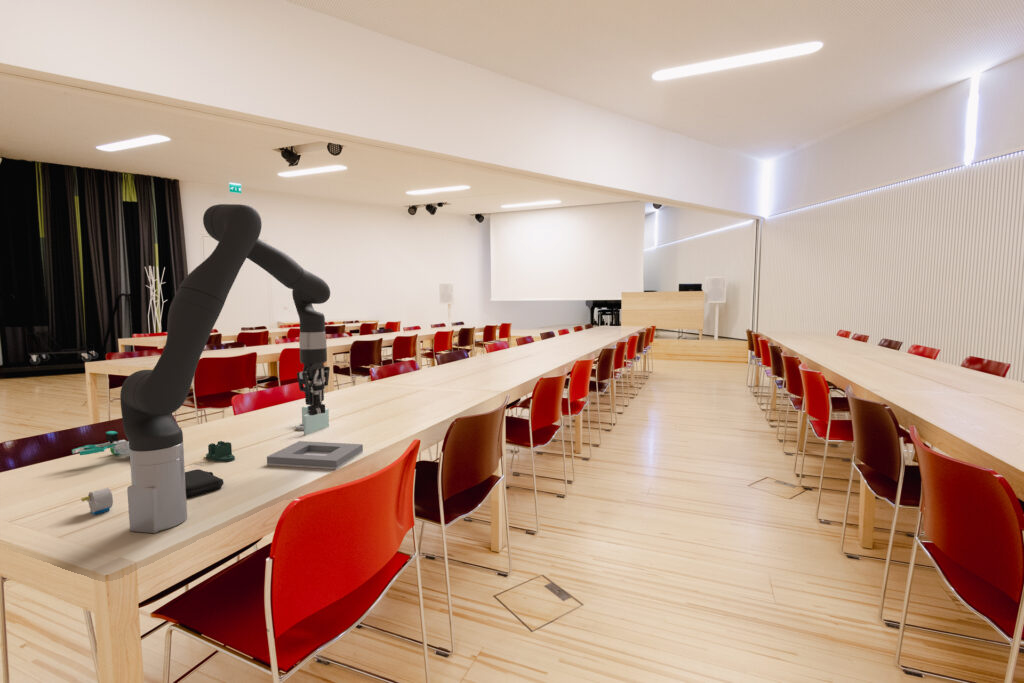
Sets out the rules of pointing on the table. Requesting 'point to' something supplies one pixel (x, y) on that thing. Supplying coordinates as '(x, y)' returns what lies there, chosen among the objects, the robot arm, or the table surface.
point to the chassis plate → (315, 455)
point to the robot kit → (106, 446)
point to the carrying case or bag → (201, 482)
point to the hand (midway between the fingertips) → (315, 402)
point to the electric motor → (99, 501)
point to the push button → (317, 399)
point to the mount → (220, 452)
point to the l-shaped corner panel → (313, 421)
